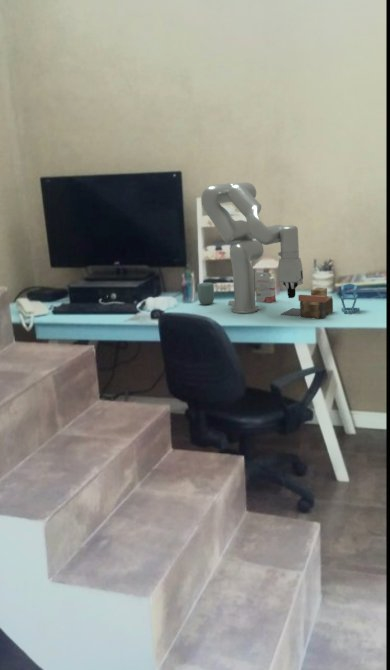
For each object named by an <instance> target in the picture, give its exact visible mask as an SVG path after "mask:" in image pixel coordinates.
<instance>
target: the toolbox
mask: <svg viewBox="0 0 390 670" xmlns="http://www.w3.org/2000/svg"><path fill="white" fill-rule="evenodd" d="M333 307H334V299H333V297H332V299H330V300H328V301H327V302H325V303H324V302H320V305H309V304H303V301H299V309H300V316H299V317H300V318H302V319H312V318H315V319H314V320H324V319H326V316H328V315H330V314H331V313H333V312H334V308H333Z"/></svg>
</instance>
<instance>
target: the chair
mask: <svg viewBox="0 0 390 670" xmlns="http://www.w3.org/2000/svg"><path fill="white" fill-rule="evenodd" d="M340 287H341V288H340V289H341V296H340V300H341V305H342V307H341V311H342V312H343V314H344V315H347V313H348V312H347V311H350V312H349V314H350V315H353V314H355V313H356V311H357V312H359V311H360V310H361V309H360V307H355V305H356V303H357V299H358V296H359V294H357V289H358V288H359V287H358V285H355V284H353V283H346V284H344V285H343V284H342V286H340ZM346 289H352V290H353V294H348V293H346ZM345 300H353V304H352V306H351V307H346V304H345V302H344V301H345Z"/></svg>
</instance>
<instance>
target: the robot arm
mask: <svg viewBox="0 0 390 670" xmlns="http://www.w3.org/2000/svg"><path fill="white" fill-rule="evenodd" d="M256 196H257V189H256V187H255V186H254V184H252V183H251V182H236V183H235V182H234V183H233V182H231V183H230V182H229V183H220V184H212V185H209V186H207V187H205V188H204V190H203V191H202V194H201V200H200V201H201V205H202V209H203V211H204V212H205V214H206V215H207V216H208V218H209V220H210V221H211V222H212V223H213V225H214V228H215V229H216V231H217V232H218V234H219V235H220V237H221V238H222V240H223V241H224V242H225V243H227V244H233V243H234V244H233V245H232V246H231V247H230V249H229V259H230V261H231V270H232V277H233V295H234V296H233V297H234V300H229V301H228V303H227V305H228V306H231V307H232V308H231V312H233V313H235V314H251V313H256V312H258V311H259V310H260V307H259V305H256V288H255V271H254V267H253V265H252V263H251V262H252V261H256V260H259V259H261V258H262V256H263V255H264V251H265V250H264V249H265V248H264V246H268V245H272V244H278V243H280V252H278V254H277V255H278V256H280V258H279V259H278V266H277V280H278V282H279V284H280V285H283V286H284V287H285V288H286V289H287V299H293V298H295V297H296V288H297V287H298V286H300V285H303V284H304V282H303V280H304V270H303V263H302V260H301V258H300V252H299V251H300V250H299V230H298V226H296V225H281V224H274V225H269V226H266V225H265V224H264V222H262V220H261V219H260V217H259V214H260V213H261V210H262V205H261V204H260V202H259V201H258V199H256ZM225 203H232V205H234V206H235V208H236V209H237V210H238V211H239V212H240V213H241V214H242V216H244V217H245V219H246V221H245V220H243V219H240V220H234V219H233V217H232V216H231V214H230V212H229V210H227V209H226V208H225V207H224V206H222V205H221V204H225ZM263 245H264V246H263Z"/></svg>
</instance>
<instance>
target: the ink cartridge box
mask: <svg viewBox="0 0 390 670" xmlns="http://www.w3.org/2000/svg"><path fill="white" fill-rule="evenodd" d="M275 279H276V278H275V277H272V276H271V275H270V272H264V271H263V272H262V271H261V272H260V271H254V284H255V303H265V304H266V303H267V304H272V303H275V302H276V299H277V298H276V282H275Z"/></svg>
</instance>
